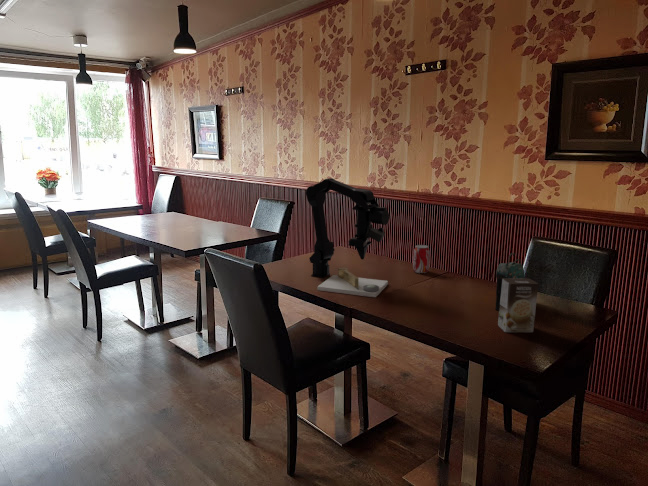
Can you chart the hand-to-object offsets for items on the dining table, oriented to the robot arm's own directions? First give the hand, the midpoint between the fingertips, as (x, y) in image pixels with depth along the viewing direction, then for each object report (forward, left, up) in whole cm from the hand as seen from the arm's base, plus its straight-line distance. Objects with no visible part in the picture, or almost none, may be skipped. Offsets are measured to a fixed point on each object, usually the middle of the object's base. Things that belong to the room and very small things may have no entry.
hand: (362, 259), depth 199 cm
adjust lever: (-5, -3, -9) cm, 11 cm away
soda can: (+19, +28, -11) cm, 36 cm away
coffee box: (+60, -27, -11) cm, 66 cm away
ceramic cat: (+57, -4, -11) cm, 58 cm away
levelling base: (-2, -5, -11) cm, 12 cm away
